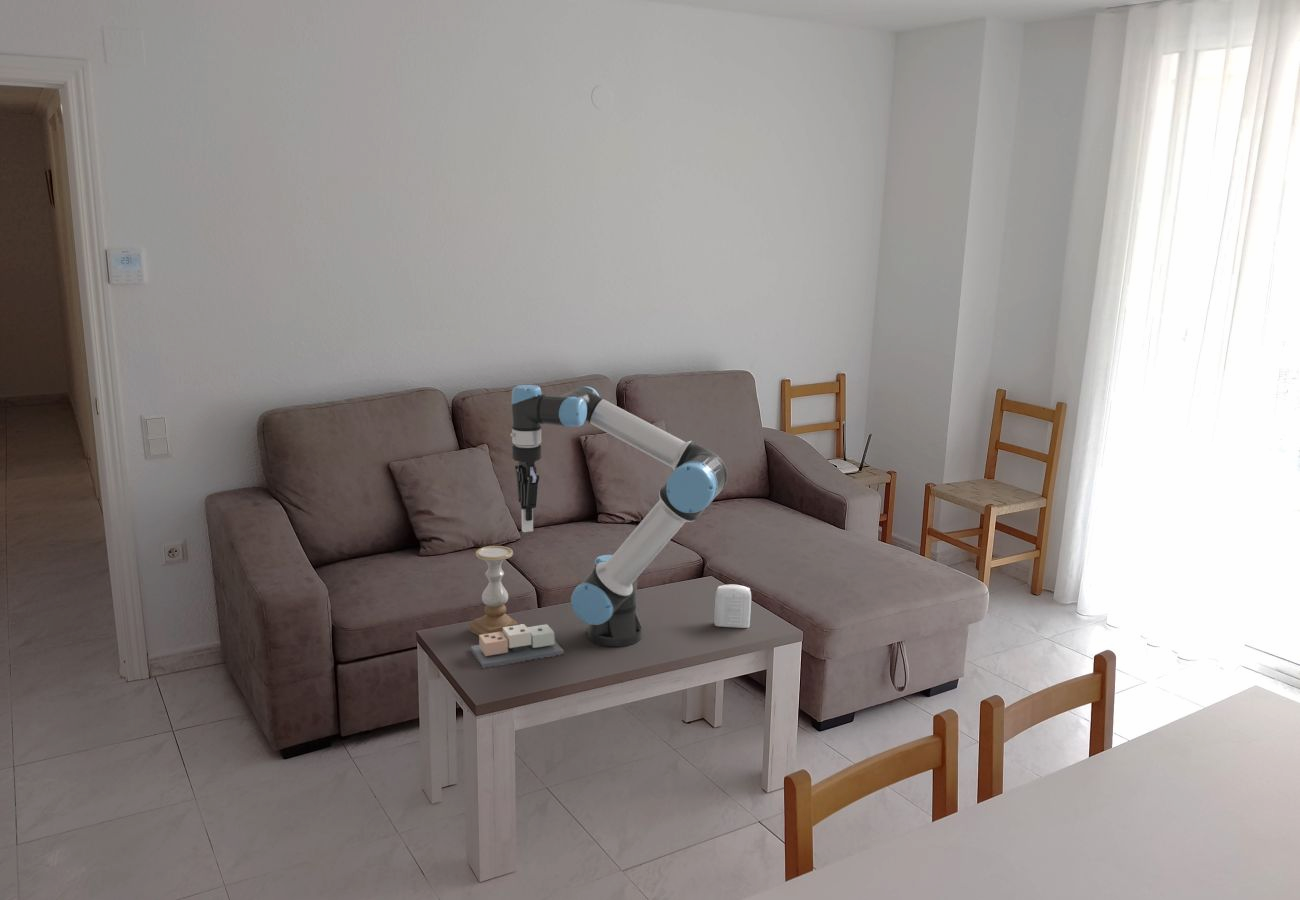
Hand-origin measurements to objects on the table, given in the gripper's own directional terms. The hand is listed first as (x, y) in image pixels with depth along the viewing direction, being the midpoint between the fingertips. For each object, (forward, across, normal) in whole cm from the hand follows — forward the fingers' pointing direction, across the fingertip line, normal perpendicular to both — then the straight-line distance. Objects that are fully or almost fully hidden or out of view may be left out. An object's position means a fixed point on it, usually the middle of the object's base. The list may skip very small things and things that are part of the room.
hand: (527, 530), depth 271 cm
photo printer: (+33, +10, +58) cm, 67 cm away
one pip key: (+31, +4, +2) cm, 31 cm away
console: (+32, +4, -4) cm, 33 cm away
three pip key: (+31, +4, -11) cm, 33 cm away
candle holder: (+33, -11, -6) cm, 35 cm away
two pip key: (+29, +4, -4) cm, 30 cm away
